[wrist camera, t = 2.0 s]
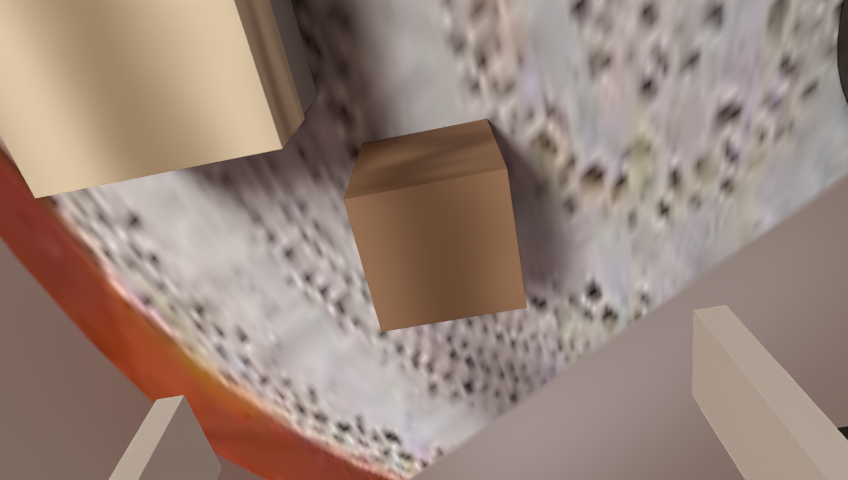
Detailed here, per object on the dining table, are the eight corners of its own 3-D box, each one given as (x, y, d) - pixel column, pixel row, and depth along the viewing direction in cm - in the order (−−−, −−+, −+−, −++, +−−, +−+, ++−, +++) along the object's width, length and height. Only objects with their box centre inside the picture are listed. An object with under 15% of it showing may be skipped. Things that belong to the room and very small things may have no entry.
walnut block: (486, 118, 26) (507, 168, 20) (504, 231, 29) (526, 307, 22) (362, 143, 26) (343, 199, 20) (390, 252, 29) (381, 331, 23)
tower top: (225, -148, 18) (177, -175, 15) (304, 118, 22) (282, 148, 19) (-24, -85, 19) (-128, -97, 15) (95, 161, 23) (35, 198, 19)
